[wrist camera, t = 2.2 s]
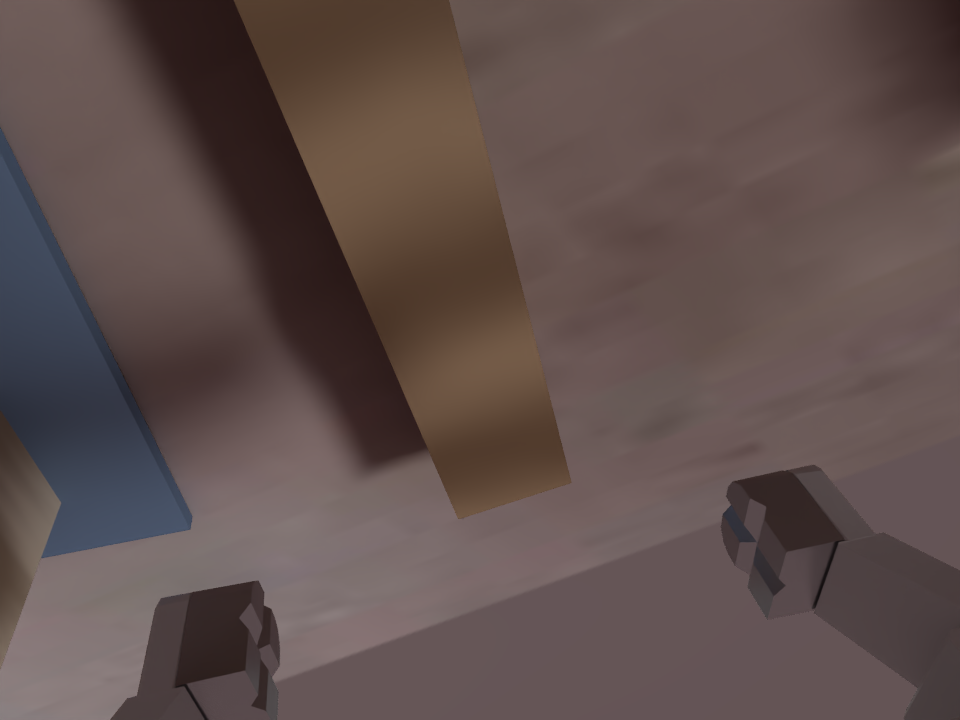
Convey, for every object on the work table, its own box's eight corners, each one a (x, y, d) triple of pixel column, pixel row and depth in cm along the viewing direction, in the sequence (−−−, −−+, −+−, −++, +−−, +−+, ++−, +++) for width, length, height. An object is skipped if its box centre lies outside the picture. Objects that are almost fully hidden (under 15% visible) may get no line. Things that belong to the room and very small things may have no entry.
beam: (217, -109, 16) (193, -92, 13) (388, -165, 16) (407, -162, 13) (441, 438, 27) (458, 519, 24) (540, 406, 27) (571, 482, 24)
